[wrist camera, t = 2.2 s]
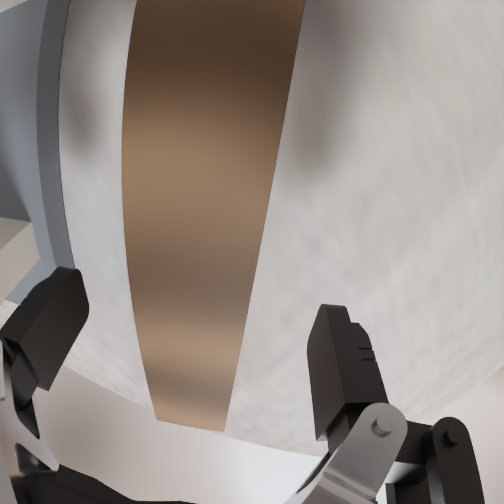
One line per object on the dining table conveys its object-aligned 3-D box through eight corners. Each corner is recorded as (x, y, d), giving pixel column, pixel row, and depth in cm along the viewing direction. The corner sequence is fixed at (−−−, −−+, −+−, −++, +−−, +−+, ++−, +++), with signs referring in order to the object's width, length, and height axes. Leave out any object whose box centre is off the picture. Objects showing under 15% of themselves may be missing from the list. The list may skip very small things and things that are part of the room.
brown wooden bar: (192, -38, 7) (159, -82, 3) (301, -29, 7) (317, -76, 3) (170, 368, 18) (156, 419, 15) (229, 378, 18) (223, 431, 15)
